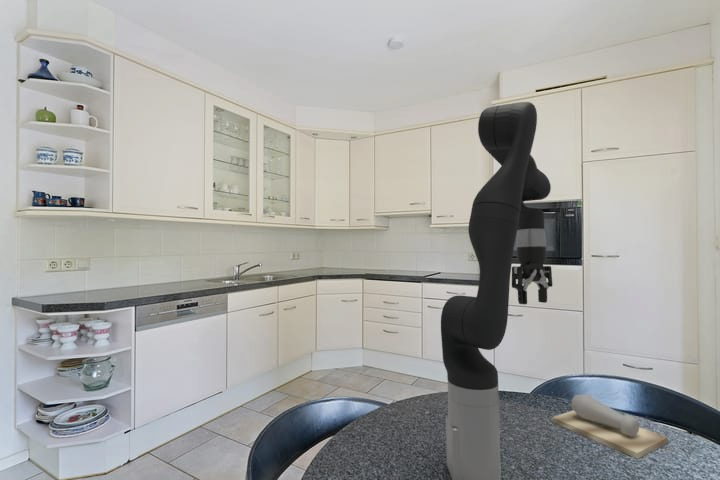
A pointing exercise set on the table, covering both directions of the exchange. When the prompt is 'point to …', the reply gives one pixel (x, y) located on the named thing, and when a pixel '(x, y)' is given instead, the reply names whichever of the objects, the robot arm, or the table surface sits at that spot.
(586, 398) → the salt shaker
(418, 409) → the table surface
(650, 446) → the birch board
